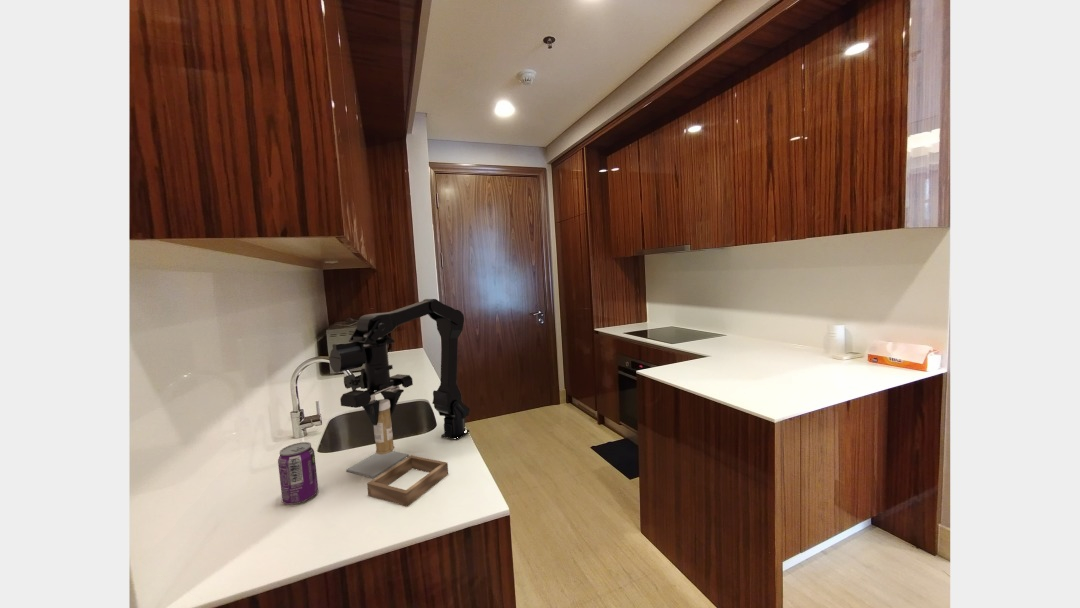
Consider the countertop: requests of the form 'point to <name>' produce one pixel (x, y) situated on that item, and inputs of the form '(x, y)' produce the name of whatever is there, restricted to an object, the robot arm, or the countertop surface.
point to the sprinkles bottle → (384, 429)
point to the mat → (377, 464)
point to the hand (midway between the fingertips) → (382, 421)
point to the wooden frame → (406, 497)
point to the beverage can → (297, 473)
